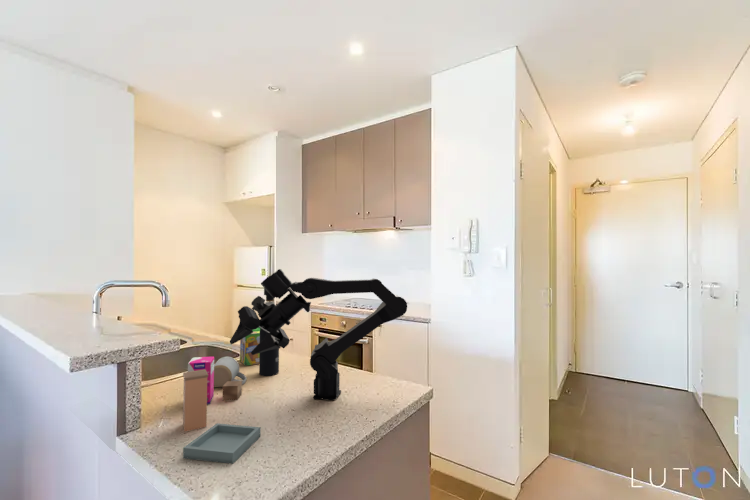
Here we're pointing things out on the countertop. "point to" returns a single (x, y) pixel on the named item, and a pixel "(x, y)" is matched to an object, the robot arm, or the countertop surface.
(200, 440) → the slate tray
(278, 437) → the countertop surface
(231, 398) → the walnut block
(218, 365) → the ceramic mug
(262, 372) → the wine bottle
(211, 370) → the supplement box
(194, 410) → the tan lidded box
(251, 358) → the chalk box
